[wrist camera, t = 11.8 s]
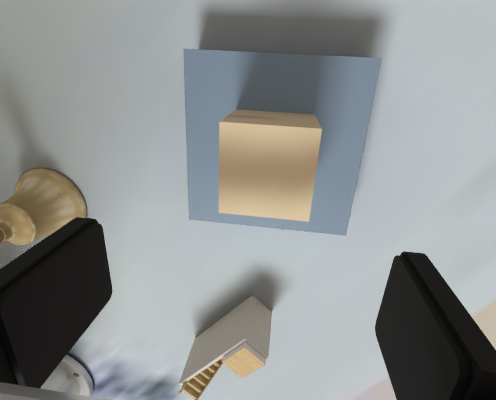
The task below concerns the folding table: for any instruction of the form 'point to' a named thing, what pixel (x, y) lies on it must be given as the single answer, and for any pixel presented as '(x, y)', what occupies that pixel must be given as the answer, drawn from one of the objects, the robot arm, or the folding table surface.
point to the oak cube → (268, 164)
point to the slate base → (288, 101)
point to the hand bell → (39, 206)
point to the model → (229, 346)
